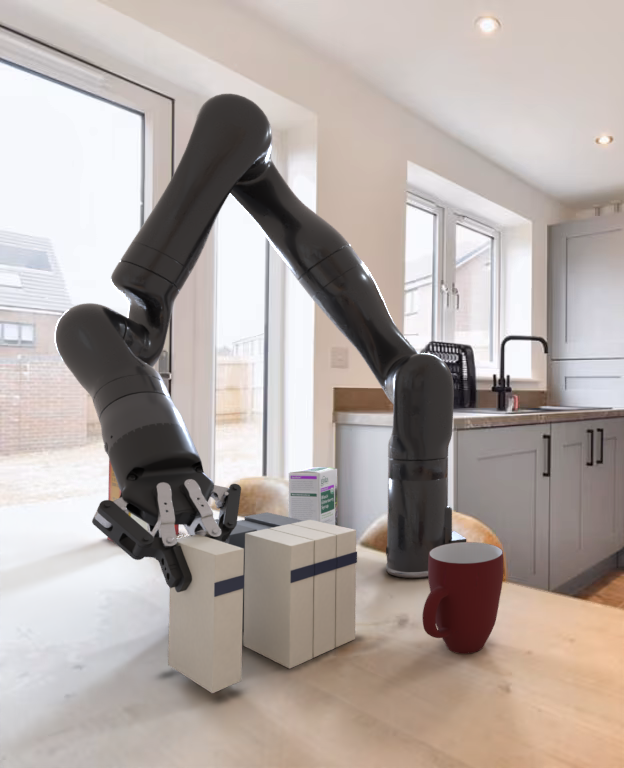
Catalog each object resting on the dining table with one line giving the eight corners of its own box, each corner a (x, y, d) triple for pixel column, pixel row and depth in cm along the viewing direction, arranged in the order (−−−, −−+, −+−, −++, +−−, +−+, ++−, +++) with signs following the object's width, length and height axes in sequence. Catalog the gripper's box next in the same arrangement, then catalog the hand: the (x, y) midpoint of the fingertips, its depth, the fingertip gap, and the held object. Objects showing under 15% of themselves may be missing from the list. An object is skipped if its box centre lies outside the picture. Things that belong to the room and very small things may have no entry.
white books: (309, 620, 64) (310, 519, 65) (356, 639, 59) (357, 529, 60) (243, 645, 58) (244, 533, 58) (289, 669, 53) (291, 546, 53)
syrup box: (319, 562, 87) (321, 471, 87) (287, 559, 88) (288, 470, 88) (338, 552, 92) (339, 467, 93) (307, 549, 94) (308, 466, 94)
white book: (196, 654, 54) (199, 534, 54) (242, 681, 49) (245, 548, 49) (167, 665, 52) (170, 539, 52) (212, 694, 47) (215, 555, 47)
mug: (470, 683, 50) (470, 575, 51) (398, 665, 54) (399, 564, 54) (514, 637, 60) (515, 546, 60) (451, 624, 63) (452, 538, 64)
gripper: (80, 423, 51) (131, 579, 44) (228, 418, 62) (288, 542, 55) (59, 474, 54) (104, 629, 47) (204, 461, 65) (258, 583, 58)
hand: (203, 581), depth 51 cm, fingers closed on white book, 2 cm apart
